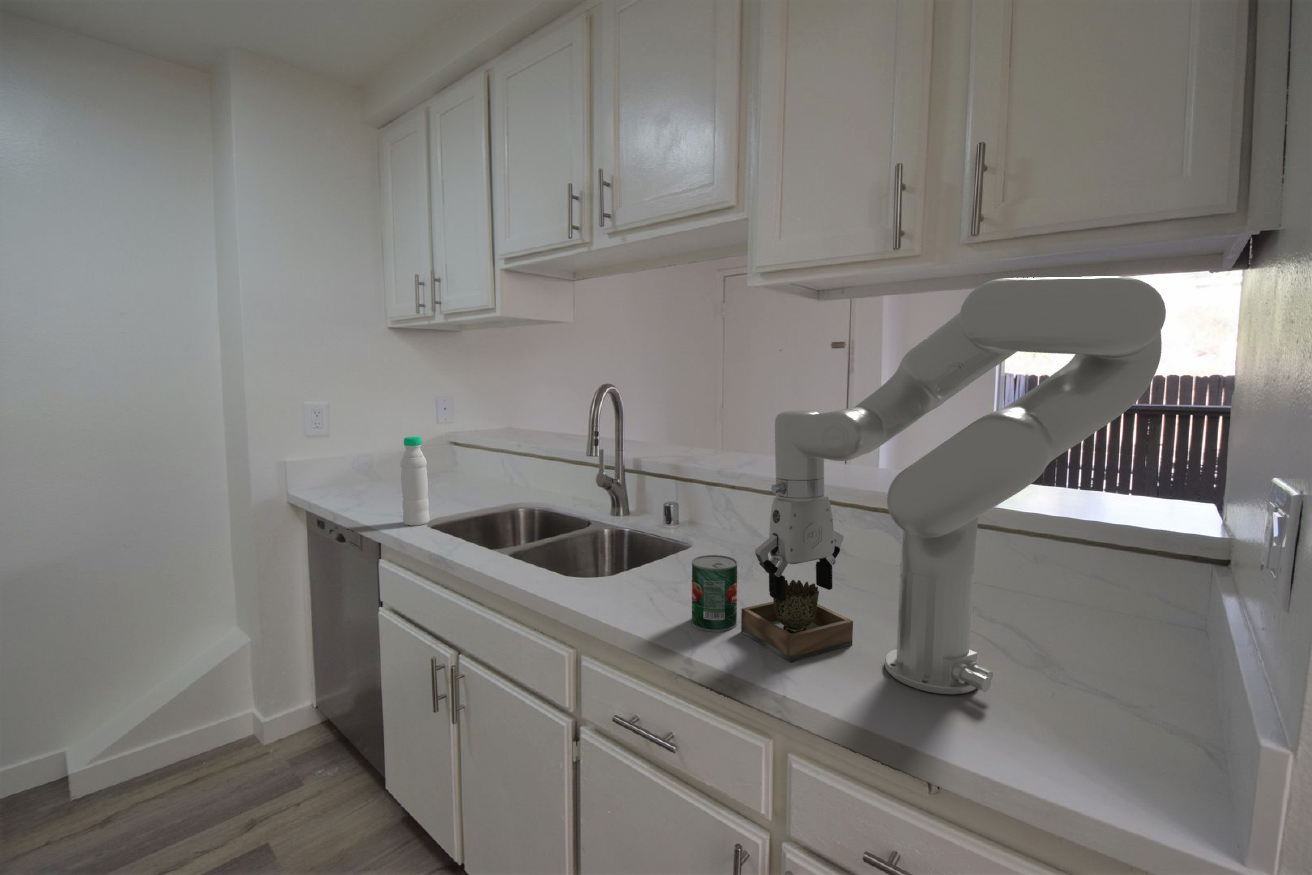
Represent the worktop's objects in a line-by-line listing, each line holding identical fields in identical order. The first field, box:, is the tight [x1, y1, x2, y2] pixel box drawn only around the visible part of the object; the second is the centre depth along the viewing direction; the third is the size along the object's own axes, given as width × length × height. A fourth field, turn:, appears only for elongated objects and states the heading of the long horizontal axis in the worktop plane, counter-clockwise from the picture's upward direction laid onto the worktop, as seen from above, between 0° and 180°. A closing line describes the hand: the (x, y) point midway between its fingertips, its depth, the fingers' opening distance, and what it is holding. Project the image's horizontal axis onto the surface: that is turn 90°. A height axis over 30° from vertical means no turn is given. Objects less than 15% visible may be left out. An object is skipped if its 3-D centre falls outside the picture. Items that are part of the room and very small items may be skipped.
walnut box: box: [740, 600, 854, 663], centre depth 101 cm, size 13×13×4 cm
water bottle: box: [400, 436, 430, 527], centre depth 178 cm, size 7×7×25 cm
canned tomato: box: [691, 554, 739, 633], centre depth 107 cm, size 8×8×11 cm
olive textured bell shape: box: [772, 579, 820, 634], centre depth 101 cm, size 8×7×8 cm
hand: (801, 592), depth 100 cm, fingers open, 9 cm apart
